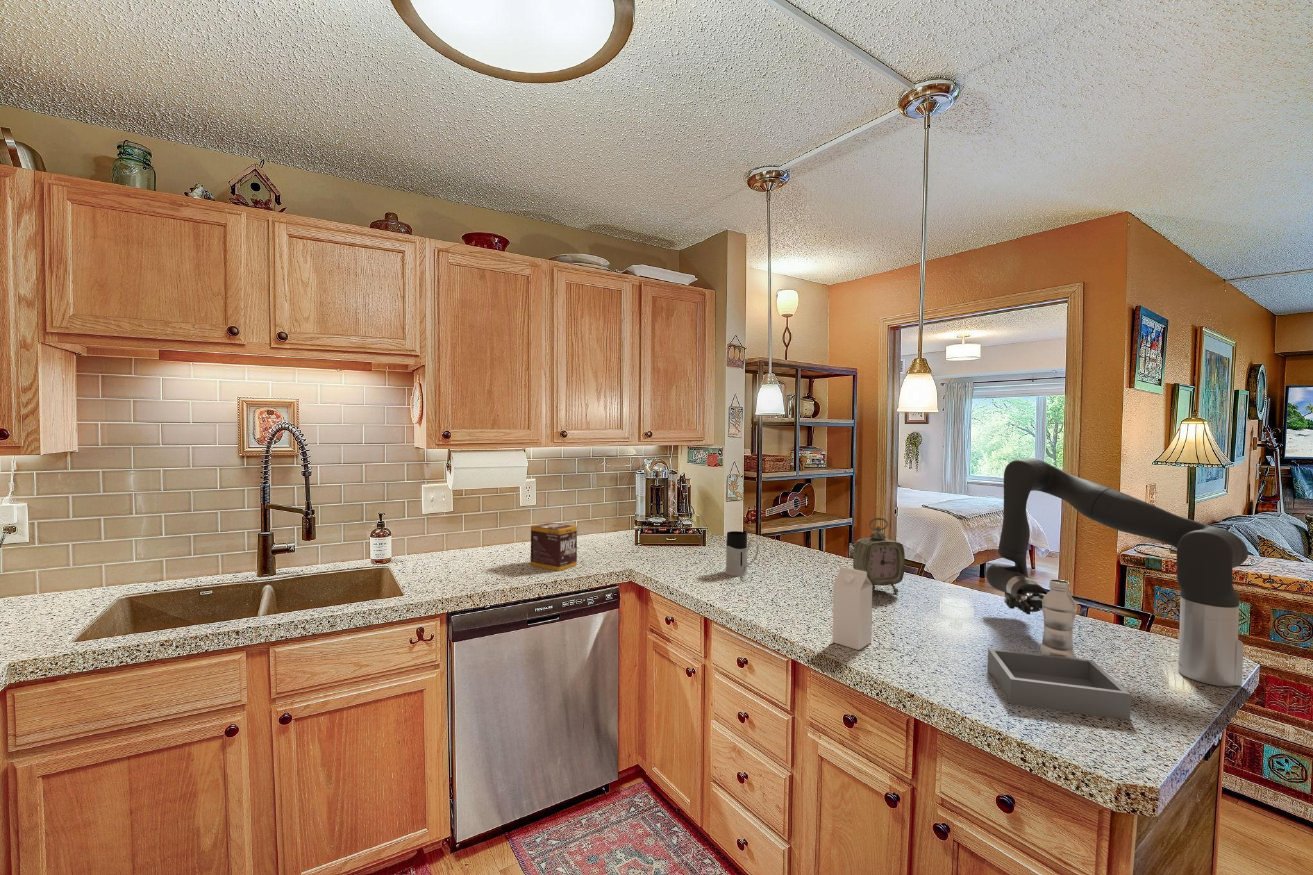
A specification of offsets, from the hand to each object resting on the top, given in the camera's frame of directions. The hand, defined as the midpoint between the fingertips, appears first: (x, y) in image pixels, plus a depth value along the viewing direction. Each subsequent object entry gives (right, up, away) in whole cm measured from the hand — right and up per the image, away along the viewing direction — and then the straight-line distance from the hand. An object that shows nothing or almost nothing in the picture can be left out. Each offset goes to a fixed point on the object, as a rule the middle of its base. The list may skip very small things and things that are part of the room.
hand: (1049, 612), depth 133 cm
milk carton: (-45, -11, +8) cm, 47 cm away
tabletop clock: (-21, -10, +52) cm, 57 cm away
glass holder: (-63, -9, +72) cm, 96 cm away
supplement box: (-135, -8, +83) cm, 158 cm away
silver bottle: (-2, -11, -5) cm, 12 cm away
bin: (-12, -11, -17) cm, 24 cm away
